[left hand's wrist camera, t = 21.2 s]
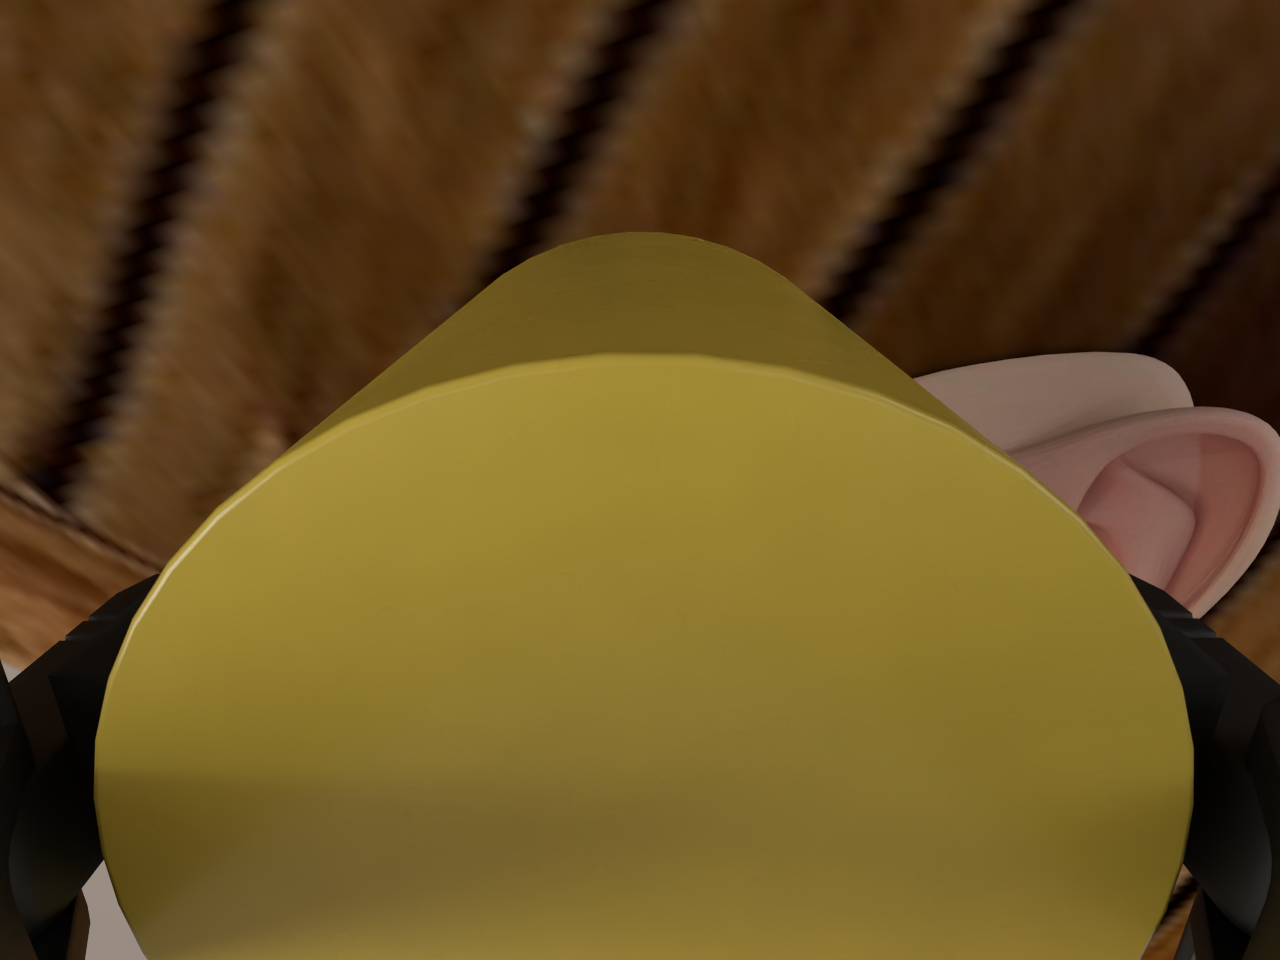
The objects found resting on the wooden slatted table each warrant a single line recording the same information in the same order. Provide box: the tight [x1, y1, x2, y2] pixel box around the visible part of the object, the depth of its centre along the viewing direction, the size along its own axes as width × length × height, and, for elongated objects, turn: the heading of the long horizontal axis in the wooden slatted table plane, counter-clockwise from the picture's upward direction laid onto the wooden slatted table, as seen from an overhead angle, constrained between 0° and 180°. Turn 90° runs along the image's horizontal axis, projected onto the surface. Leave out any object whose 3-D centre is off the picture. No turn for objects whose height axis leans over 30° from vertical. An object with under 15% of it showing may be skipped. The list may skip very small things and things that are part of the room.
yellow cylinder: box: [94, 232, 1194, 960], centre depth 11 cm, size 9×9×10 cm
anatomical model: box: [913, 352, 1280, 619], centre depth 23 cm, size 13×4×12 cm
